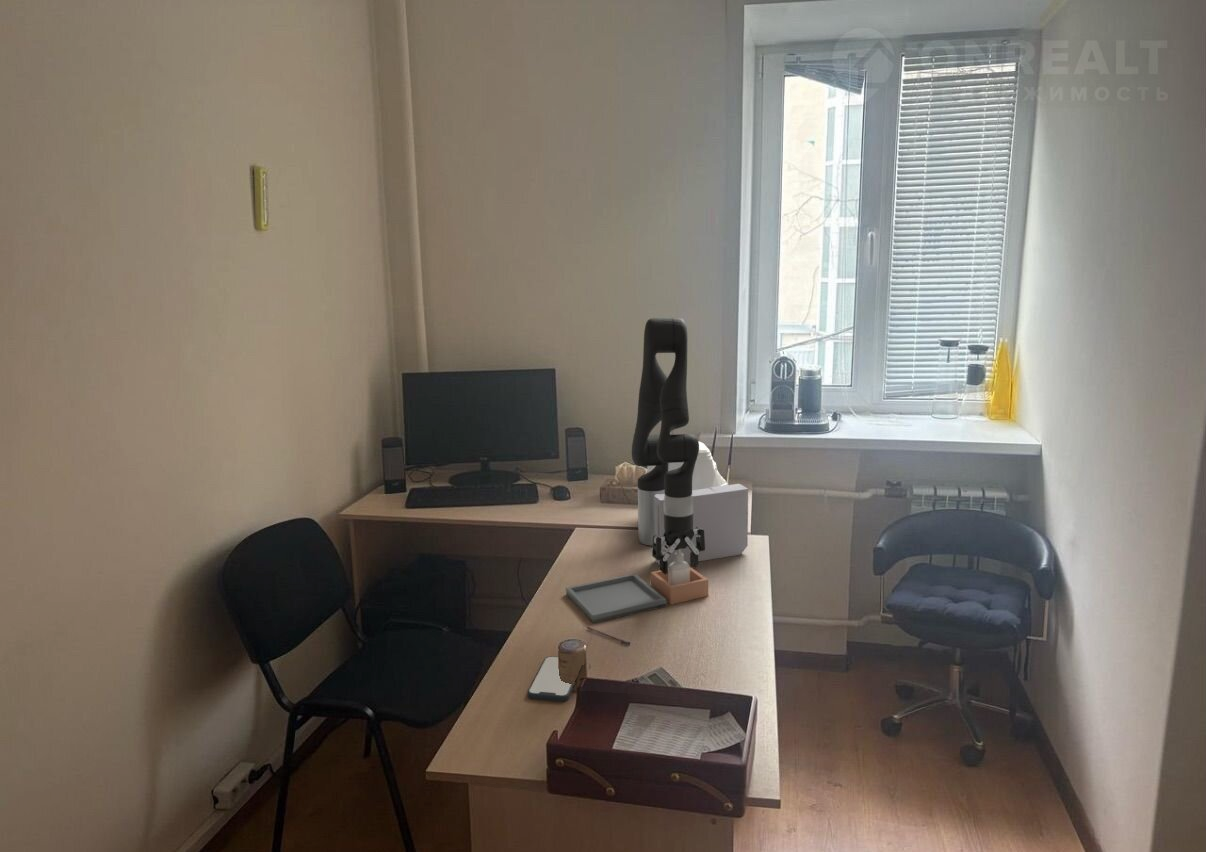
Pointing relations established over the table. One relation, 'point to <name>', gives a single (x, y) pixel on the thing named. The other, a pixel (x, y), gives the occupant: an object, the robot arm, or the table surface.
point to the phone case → (549, 683)
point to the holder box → (680, 587)
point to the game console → (713, 521)
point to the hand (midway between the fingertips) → (679, 570)
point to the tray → (615, 597)
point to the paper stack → (701, 470)
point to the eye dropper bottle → (678, 570)
